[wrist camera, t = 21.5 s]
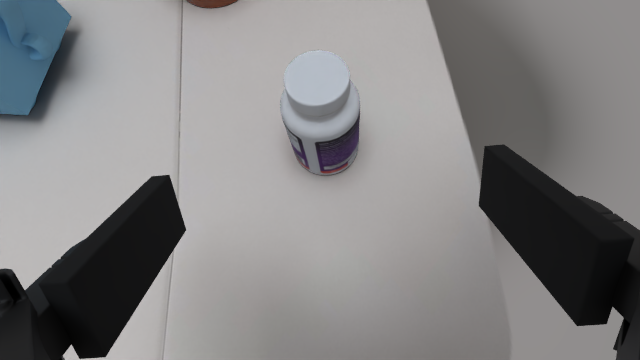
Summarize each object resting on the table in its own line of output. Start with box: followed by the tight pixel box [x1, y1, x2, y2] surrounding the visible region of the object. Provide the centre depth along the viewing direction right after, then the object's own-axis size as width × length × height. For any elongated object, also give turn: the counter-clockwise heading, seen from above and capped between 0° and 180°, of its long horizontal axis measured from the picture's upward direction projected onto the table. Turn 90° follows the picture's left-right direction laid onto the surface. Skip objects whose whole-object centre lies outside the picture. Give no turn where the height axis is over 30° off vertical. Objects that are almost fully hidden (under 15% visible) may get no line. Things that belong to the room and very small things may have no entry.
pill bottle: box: [280, 50, 360, 175], centre depth 26 cm, size 5×5×10 cm
